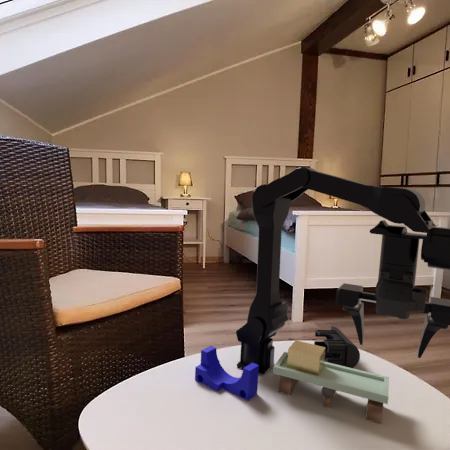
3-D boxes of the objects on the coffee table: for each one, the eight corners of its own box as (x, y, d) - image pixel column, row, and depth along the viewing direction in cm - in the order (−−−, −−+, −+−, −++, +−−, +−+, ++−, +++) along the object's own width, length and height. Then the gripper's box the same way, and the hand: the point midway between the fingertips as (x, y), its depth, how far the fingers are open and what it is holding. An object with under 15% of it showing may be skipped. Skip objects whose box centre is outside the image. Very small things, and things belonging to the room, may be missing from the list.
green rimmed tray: (273, 376, 70) (273, 366, 70) (283, 361, 76) (284, 351, 76) (387, 407, 62) (388, 396, 61) (388, 387, 68) (389, 377, 68)
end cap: (358, 373, 80) (361, 343, 79) (327, 373, 79) (329, 343, 78) (341, 352, 90) (343, 326, 89) (312, 352, 89) (315, 325, 88)
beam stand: (277, 393, 70) (278, 373, 70) (288, 377, 77) (289, 358, 76) (380, 425, 62) (382, 403, 62) (383, 404, 68) (385, 384, 68)
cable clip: (194, 381, 74) (196, 352, 73) (209, 372, 77) (210, 345, 77) (243, 405, 66) (245, 374, 66) (257, 395, 70) (258, 365, 69)
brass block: (286, 368, 70) (288, 348, 70) (294, 358, 74) (295, 340, 74) (318, 377, 67) (319, 357, 67) (323, 367, 72) (325, 347, 71)
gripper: (332, 262, 59) (325, 355, 61) (469, 281, 51) (457, 387, 52) (344, 253, 69) (337, 332, 71) (460, 267, 61) (450, 357, 62)
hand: (389, 350), depth 64 cm, fingers open, 9 cm apart
